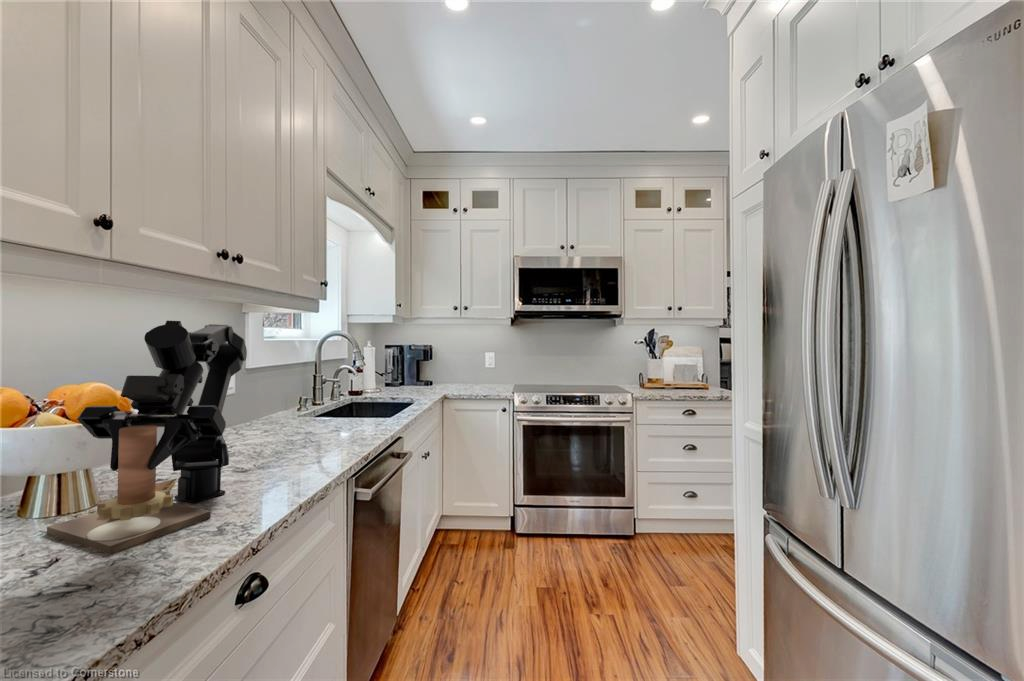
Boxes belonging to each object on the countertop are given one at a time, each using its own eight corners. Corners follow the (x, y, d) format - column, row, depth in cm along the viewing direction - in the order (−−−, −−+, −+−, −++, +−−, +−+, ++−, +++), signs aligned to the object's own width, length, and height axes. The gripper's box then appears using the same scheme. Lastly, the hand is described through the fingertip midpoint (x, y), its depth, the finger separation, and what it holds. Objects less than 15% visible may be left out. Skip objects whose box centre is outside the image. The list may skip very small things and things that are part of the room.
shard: (176, 484, 98) (176, 476, 98) (198, 489, 95) (198, 481, 95) (118, 500, 88) (118, 491, 88) (141, 506, 85) (141, 496, 85)
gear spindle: (150, 495, 71) (152, 420, 71) (186, 503, 68) (188, 425, 68) (82, 515, 63) (84, 430, 63) (119, 525, 60) (122, 436, 60)
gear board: (150, 503, 85) (150, 485, 85) (210, 517, 79) (210, 498, 79) (46, 533, 71) (47, 512, 71) (110, 554, 65) (110, 530, 65)
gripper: (87, 355, 67) (22, 441, 57) (220, 357, 71) (182, 438, 61) (120, 397, 75) (68, 481, 64) (238, 397, 79) (207, 476, 68)
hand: (131, 468), depth 64 cm, fingers closed on gear spindle, 4 cm apart
